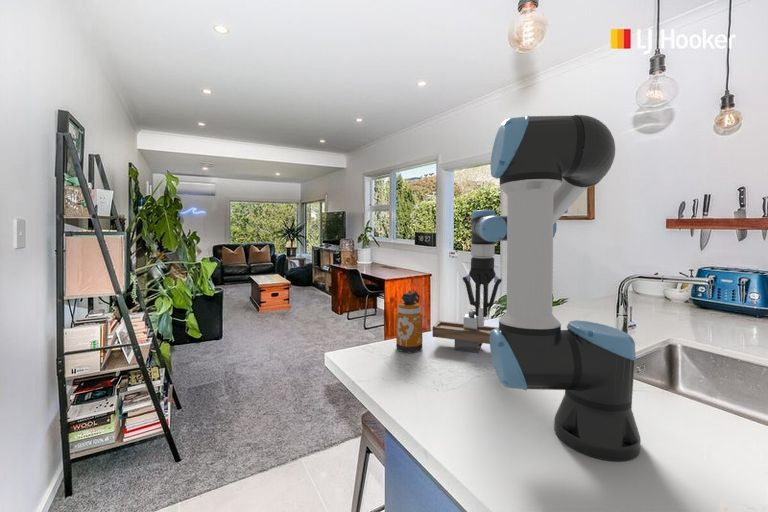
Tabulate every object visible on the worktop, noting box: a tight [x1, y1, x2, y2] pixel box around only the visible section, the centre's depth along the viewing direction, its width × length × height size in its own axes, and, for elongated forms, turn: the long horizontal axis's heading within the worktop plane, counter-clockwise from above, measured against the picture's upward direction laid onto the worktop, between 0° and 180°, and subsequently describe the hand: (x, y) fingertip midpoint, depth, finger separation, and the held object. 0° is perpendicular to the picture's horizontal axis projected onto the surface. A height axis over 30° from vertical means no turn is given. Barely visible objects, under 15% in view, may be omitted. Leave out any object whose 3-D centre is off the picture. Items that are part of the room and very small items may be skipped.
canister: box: [395, 290, 423, 353], centre depth 125 cm, size 9×11×20 cm
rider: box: [463, 310, 479, 331], centre depth 123 cm, size 4×4×6 cm
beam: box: [431, 320, 499, 354], centre depth 124 cm, size 8×23×8 cm, turn 66°
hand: (481, 325), depth 122 cm, fingers closed
